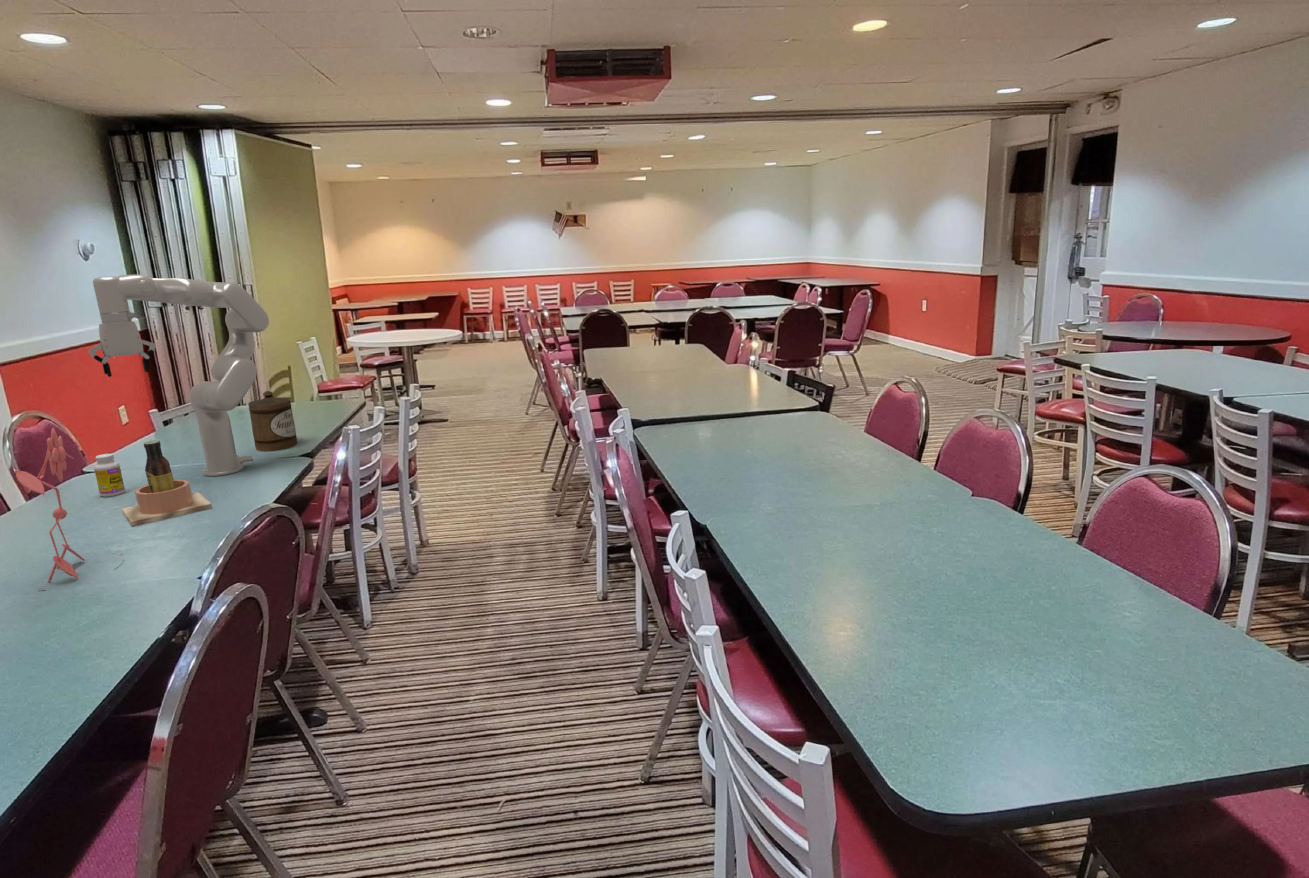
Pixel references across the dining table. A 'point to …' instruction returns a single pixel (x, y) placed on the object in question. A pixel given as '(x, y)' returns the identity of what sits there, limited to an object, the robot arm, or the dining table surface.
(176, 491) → the jar collar
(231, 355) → the robot arm
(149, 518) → the birch board
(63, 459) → the figurine
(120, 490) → the supplement bottle
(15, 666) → the dining table surface
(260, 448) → the wooden container
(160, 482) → the sauce bottle
